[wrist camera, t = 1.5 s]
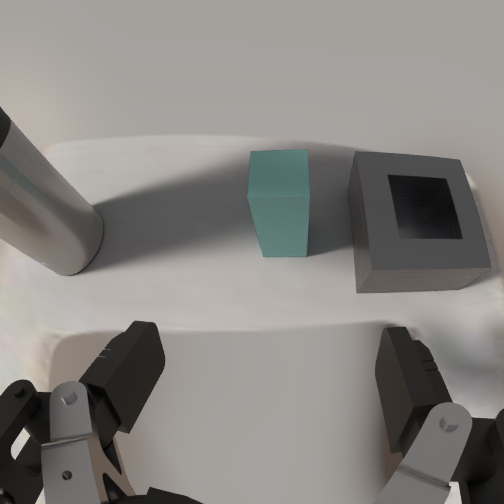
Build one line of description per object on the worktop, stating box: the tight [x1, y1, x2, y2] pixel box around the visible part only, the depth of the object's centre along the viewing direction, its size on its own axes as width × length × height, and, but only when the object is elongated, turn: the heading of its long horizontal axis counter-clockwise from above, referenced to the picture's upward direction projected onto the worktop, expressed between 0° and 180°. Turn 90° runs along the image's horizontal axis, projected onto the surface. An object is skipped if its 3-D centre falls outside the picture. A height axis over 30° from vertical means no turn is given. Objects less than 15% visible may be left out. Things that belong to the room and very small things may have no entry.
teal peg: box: [247, 150, 310, 257], centre depth 24 cm, size 4×4×10 cm
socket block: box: [347, 151, 491, 293], centre depth 24 cm, size 11×11×6 cm
